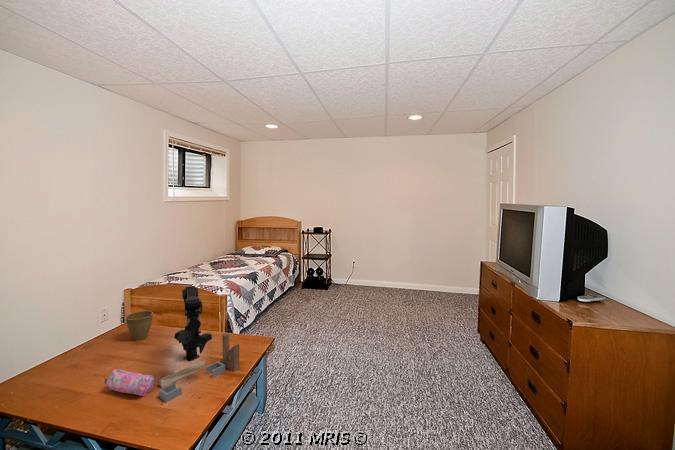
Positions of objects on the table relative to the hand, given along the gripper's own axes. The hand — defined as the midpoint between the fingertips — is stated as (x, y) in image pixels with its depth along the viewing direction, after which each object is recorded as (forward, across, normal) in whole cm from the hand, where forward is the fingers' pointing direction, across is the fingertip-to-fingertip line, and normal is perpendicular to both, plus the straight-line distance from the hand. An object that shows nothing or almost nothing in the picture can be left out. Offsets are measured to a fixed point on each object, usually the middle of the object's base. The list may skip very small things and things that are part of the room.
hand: (193, 352), depth 148 cm
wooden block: (+12, +14, +11) cm, 22 cm away
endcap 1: (+12, +2, -16) cm, 20 cm away
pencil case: (+13, -19, -19) cm, 30 cm away
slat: (+13, -5, -2) cm, 14 cm away
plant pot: (+14, -64, +25) cm, 70 cm away
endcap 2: (+12, +10, +4) cm, 16 cm away
